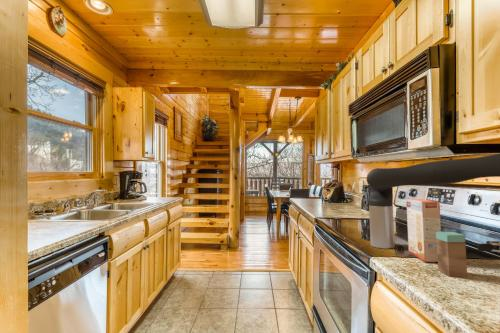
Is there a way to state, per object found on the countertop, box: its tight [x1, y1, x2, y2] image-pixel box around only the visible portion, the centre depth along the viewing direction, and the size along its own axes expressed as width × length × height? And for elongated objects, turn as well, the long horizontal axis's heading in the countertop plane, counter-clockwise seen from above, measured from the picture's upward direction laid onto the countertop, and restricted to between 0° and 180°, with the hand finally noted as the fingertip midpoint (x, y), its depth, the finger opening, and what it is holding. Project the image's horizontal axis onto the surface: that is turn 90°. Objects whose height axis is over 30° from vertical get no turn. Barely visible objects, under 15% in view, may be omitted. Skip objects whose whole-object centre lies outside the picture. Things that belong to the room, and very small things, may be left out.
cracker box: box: [406, 198, 442, 263], centre depth 96 cm, size 14×6×21 cm, turn 168°
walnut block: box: [436, 231, 468, 278], centre depth 79 cm, size 5×5×12 cm
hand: (489, 250), depth 78 cm, fingers open, 8 cm apart
